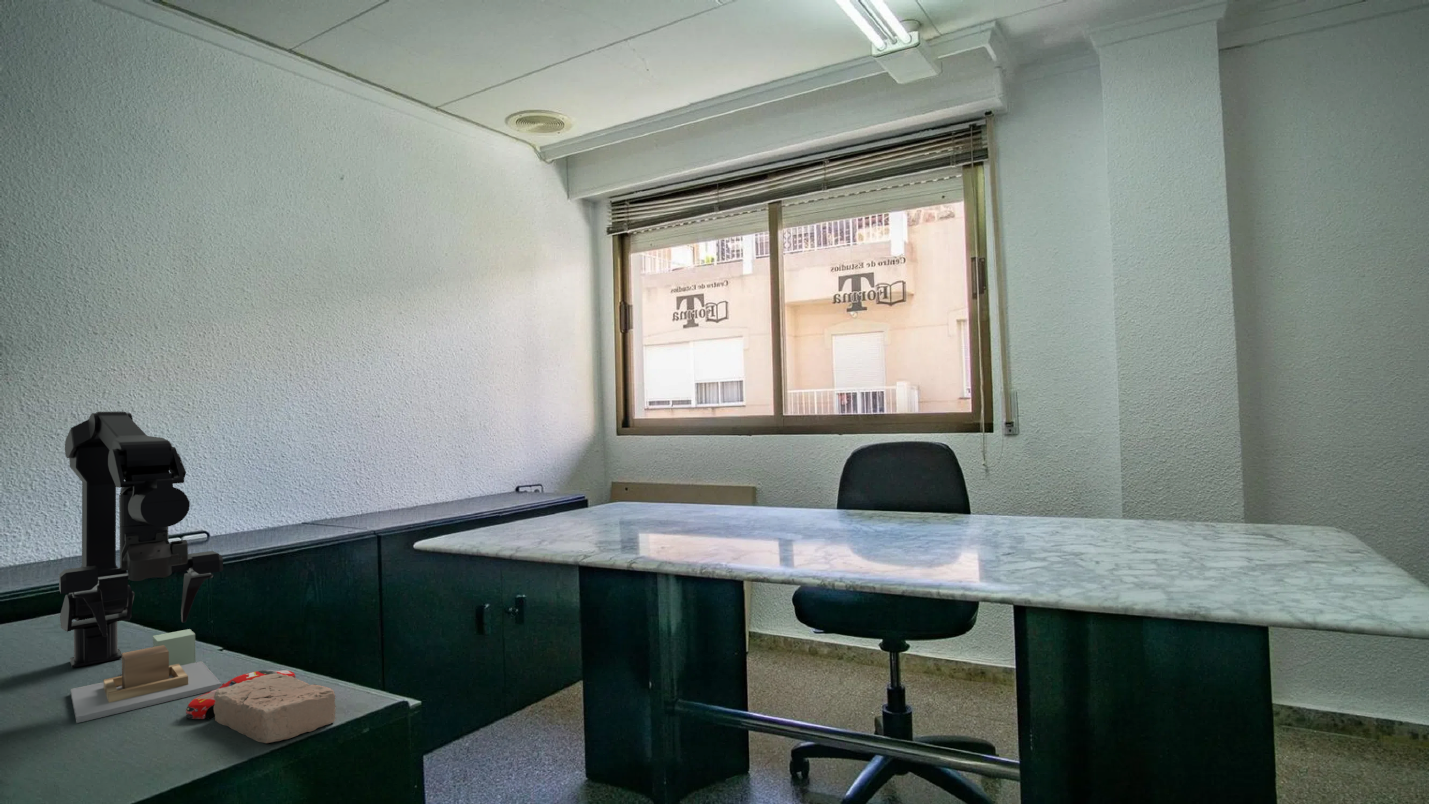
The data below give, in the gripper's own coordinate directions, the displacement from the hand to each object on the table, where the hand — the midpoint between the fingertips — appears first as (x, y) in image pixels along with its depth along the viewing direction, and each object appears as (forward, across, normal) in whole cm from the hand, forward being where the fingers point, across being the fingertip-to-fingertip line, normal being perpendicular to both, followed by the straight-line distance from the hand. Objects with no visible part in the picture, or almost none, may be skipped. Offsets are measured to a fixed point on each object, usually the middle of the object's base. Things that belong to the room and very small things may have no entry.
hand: (145, 628), depth 105 cm
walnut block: (+8, 0, 0) cm, 9 cm away
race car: (+10, +9, -18) cm, 22 cm away
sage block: (+9, +5, +13) cm, 17 cm away
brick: (+10, +10, -29) cm, 32 cm away
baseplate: (+9, 0, 0) cm, 9 cm away
